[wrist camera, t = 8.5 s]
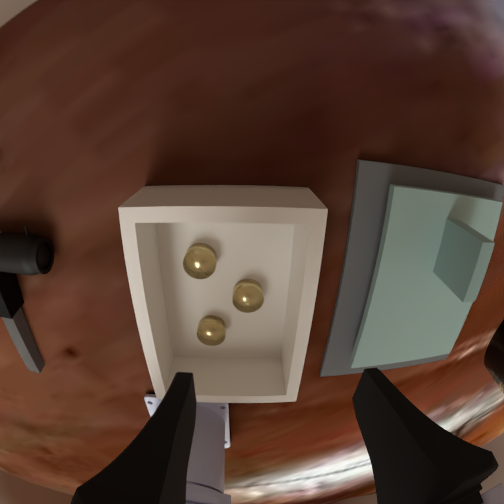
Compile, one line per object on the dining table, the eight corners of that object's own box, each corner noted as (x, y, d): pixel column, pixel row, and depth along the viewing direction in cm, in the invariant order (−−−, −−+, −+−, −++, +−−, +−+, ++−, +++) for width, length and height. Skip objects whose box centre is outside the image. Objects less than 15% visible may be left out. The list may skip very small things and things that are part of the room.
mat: (444, 356, 26) (445, 358, 25) (319, 373, 25) (320, 376, 25) (501, 184, 18) (504, 185, 18) (357, 159, 18) (359, 160, 17)
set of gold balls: (260, 337, 22) (260, 346, 21) (192, 336, 22) (190, 345, 21) (265, 243, 19) (266, 250, 18) (184, 242, 19) (181, 249, 18)
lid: (442, 342, 24) (469, 382, 19) (345, 355, 24) (365, 406, 19) (489, 196, 18) (538, 221, 13) (383, 180, 18) (430, 206, 13)
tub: (288, 359, 24) (296, 401, 20) (166, 357, 24) (156, 398, 20) (308, 187, 18) (327, 209, 14) (144, 186, 18) (118, 207, 14)
